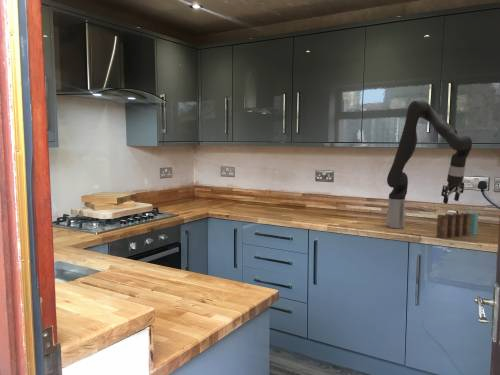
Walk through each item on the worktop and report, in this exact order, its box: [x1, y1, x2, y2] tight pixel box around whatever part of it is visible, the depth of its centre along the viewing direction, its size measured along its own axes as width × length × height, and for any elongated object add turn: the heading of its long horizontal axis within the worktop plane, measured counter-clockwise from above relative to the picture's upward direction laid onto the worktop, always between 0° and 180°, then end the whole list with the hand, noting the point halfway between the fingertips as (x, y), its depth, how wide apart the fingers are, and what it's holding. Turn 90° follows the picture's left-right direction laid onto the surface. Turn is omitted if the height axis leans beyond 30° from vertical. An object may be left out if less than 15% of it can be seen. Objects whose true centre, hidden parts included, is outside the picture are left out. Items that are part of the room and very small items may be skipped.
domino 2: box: [444, 213, 456, 239], centre depth 225 cm, size 5×2×12 cm, turn 22°
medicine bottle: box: [446, 209, 459, 215], centre depth 240 cm, size 7×7×12 cm
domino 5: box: [467, 211, 479, 236], centre depth 231 cm, size 5×2×12 cm, turn 22°
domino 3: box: [453, 213, 464, 238], centre depth 227 cm, size 5×2×12 cm, turn 22°
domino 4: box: [459, 212, 471, 237], centre depth 229 cm, size 5×2×12 cm, turn 22°
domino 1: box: [436, 213, 448, 239], centre depth 223 cm, size 5×2×12 cm, turn 22°
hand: (450, 202), depth 225 cm, fingers open, 8 cm apart
